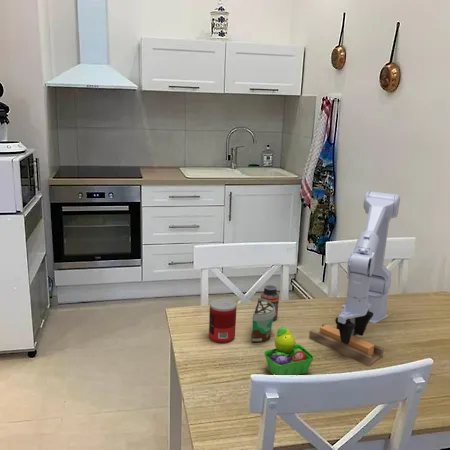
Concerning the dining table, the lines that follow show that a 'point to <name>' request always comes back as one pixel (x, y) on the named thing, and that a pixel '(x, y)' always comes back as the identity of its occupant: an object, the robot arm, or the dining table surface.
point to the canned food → (222, 320)
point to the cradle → (347, 348)
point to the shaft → (354, 341)
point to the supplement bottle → (271, 297)
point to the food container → (262, 321)
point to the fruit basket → (287, 355)
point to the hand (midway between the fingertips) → (352, 338)
